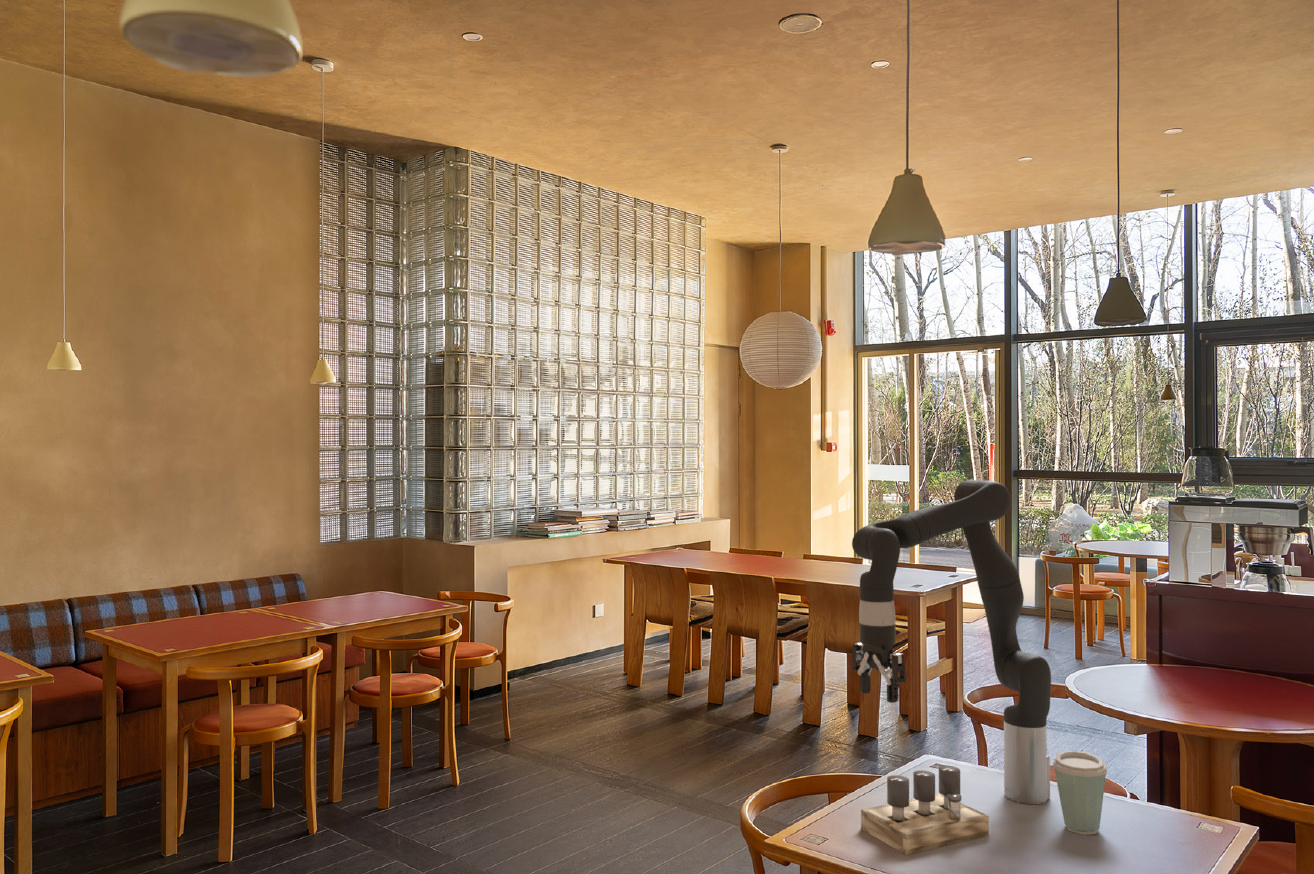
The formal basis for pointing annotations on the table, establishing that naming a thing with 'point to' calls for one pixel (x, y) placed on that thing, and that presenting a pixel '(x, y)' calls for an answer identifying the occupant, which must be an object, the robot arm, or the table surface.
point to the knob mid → (924, 790)
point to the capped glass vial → (954, 806)
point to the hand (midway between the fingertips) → (878, 697)
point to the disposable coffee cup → (1080, 790)
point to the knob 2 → (949, 781)
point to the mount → (923, 826)
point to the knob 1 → (898, 795)
